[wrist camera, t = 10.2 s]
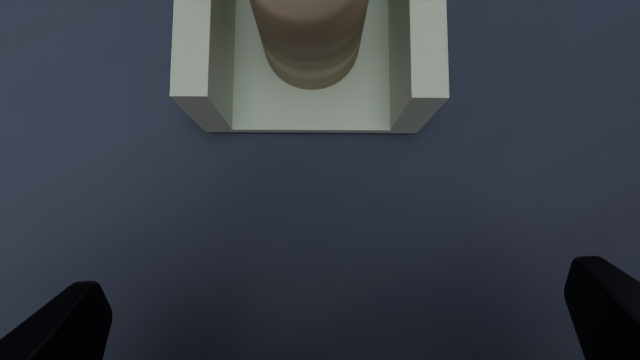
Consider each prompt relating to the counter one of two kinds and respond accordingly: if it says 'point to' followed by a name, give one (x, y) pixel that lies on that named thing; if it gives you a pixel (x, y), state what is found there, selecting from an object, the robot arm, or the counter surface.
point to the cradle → (299, 104)
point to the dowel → (310, 38)
